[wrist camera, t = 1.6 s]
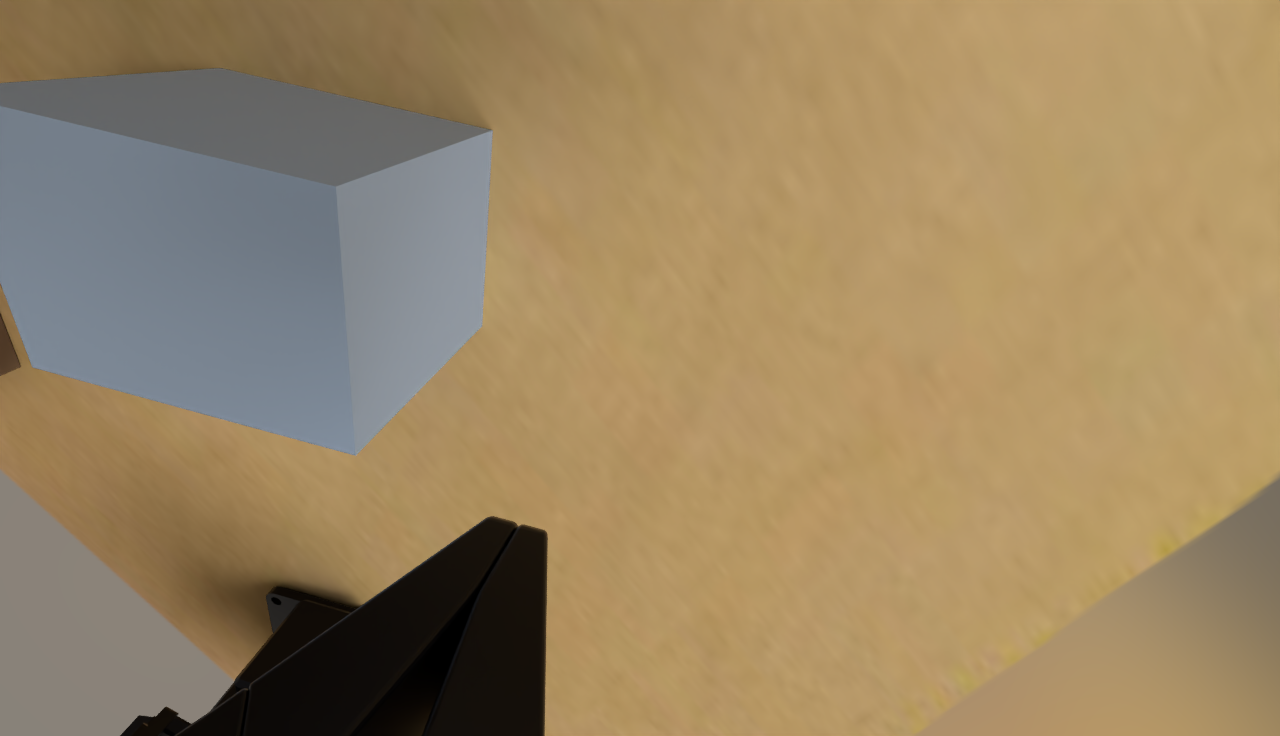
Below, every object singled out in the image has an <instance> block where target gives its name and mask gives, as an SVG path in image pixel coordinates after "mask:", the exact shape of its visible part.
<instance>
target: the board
mask: <svg viewBox="0 0 1280 736" xmlns="http://www.w3.org/2000/svg"><path fill="white" fill-rule="evenodd" d="M19 367H20V364H19V362H18V359H17V356H16V354H15V351H14V349H13V346H12V344H11V341H10V339H9V336H8V333H7V331H6V328H5V326H4V323H3V321H2V318H1V316H0V376H1V375H3V374H6V373H8V372H10V371H12V370H15V369H17V368H19Z"/></svg>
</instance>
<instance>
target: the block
mask: <svg viewBox="0 0 1280 736" xmlns="http://www.w3.org/2000/svg"><path fill="white" fill-rule="evenodd" d="M492 132H493V130H489V129H485V128H481V127H476V126H472V125H467V124H463V123H459V122H454V121H450V120H446V119H441V118H437V117H432V116H428V115H424V114H419V113H415V112H411V111H406V110H402V109H397V108H393V107H389V106H384V105H380V104H376V103H371V102H367V101H363V100H358V99H354V98H349V97H345V96H341V95H336V94H332V93H328V92H323V91H319V90H314V89H310V88H306V87H301V86H297V85H293V84H288V83H284V82H279V81H275V80H271V79H266V78H262V77H258V76H253V75H249V74H245V73H240V72H236V71H231V70H227V69H223V68H213V69H199V70H184V71H169V72H155V73H140V74H126V75H111V76H97V77H82V78H68V79H53V80H38V81H24V82H9V83H0V283H1V286H2V289H3V291H4V294H5V297H6V299H7V302H8V304H9V307H10V310H11V312H12V315H13V318H14V320H15V323H16V325H17V328H18V331H19V333H20V336H21V339H22V341H23V344H24V346H25V349H26V352H27V354H28V357H29V360H30V362H31V365H32V367H33V368H37V369H40V370H44V371H48V372H51V373H55V374H59V375H62V376H66V377H70V378H73V379H77V380H81V381H84V382H88V383H92V384H95V385H99V386H103V387H106V388H110V389H114V390H117V391H121V392H125V393H128V394H132V395H136V396H139V397H143V398H147V399H150V400H154V401H157V402H161V403H165V404H168V405H172V406H176V407H179V408H183V409H187V410H190V411H194V412H198V413H201V414H205V415H209V416H212V417H216V418H220V419H223V420H227V421H231V422H234V423H238V424H242V425H245V426H249V427H253V428H256V429H260V430H264V431H267V432H271V433H275V434H278V435H282V436H286V437H289V438H293V439H297V440H300V441H304V442H308V443H311V444H315V445H319V446H322V447H326V448H330V449H333V450H337V451H341V452H344V453H348V454H352V455H355V456H356V455H357V454H358V453H359V452H360V451H361V450H362V449H363V448H364V447H365V445H366V444H367V443H368V442H369V441H370V440H371V439H372V438H373V437H374V436H375V435H376V434H377V433H378V432H379V431H380V430H381V429H382V428H383V427H384V426H385V425H386V424H387V423H388V422H389V421H390V420H391V419H392V418H393V417H394V416H395V415H396V414H397V413H398V412H399V411H400V410H401V409H402V408H403V407H404V406H405V405H406V403H407V402H408V401H409V400H410V399H411V398H412V397H413V396H414V395H415V394H416V393H417V392H418V391H419V390H420V389H421V388H422V387H423V386H424V385H425V384H426V383H427V382H428V381H429V380H430V379H431V378H432V377H433V376H434V375H435V374H436V373H437V372H438V371H439V370H440V369H441V368H442V367H443V366H444V365H445V364H446V363H447V361H448V360H449V359H450V358H451V357H452V356H453V355H454V354H455V353H456V352H457V351H458V350H459V349H460V348H461V347H462V346H463V345H464V344H465V343H466V342H467V341H468V340H469V339H470V338H471V337H472V336H473V335H474V334H475V333H476V332H477V331H478V330H479V329H480V328H481V327H482V317H483V299H484V280H485V262H486V243H487V225H488V206H489V188H490V169H491V151H492Z"/></svg>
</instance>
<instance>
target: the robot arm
mask: <svg viewBox="0 0 1280 736" xmlns="http://www.w3.org/2000/svg"><path fill="white" fill-rule="evenodd" d="M547 543H548V537H547V532H546V531H545V530H542V529H538V528H535V527H531V526H527V525H520V526H518V525H517V524H516V523H515V522H513V521H509V520H506V519H502V518H498V517H494V516H491V517H488V518H486V519H484V520H483V521H481V522H480V523H479V524H477V525H476V526H474V527H473V528H471V529H470V530H469V531H467V532H466V533H464V534H463V535H461V536H460V537H459V538H457V539H456V540H454V541H453V542H451V543H450V544H449V545H447V546H446V547H444V548H443V549H441V550H440V551H439V552H437V553H436V554H434V555H433V556H432V557H430V558H429V559H427V560H426V561H424V562H423V563H422V564H420V565H419V566H417V567H416V568H414V569H413V570H412V571H410V572H409V573H407V574H406V575H404V576H403V577H402V578H400V579H399V580H397V581H396V582H394V583H393V584H392V585H390V586H389V587H387V588H386V589H385V590H383V591H382V592H380V593H379V594H377V595H376V596H375V597H373V598H372V599H370V600H369V601H367V602H366V603H365V604H363V605H362V606H360V607H359V608H357V609H355V608H351V607H348V606H344V605H341V604H337V603H334V602H331V601H327V600H324V599H320V598H317V597H314V596H310V595H307V594H303V593H300V592H297V591H293V590H290V589H286V588H283V587H278V586H277V587H274V588H273V589H272V590H271V591H270V592H269V593H268V594H267V596H266V600H267V605H268V610H269V615H270V620H271V625H272V630H273V634H272V635H271V636H270V638H269V639H268V640H267V641H266V643H265V644H264V645H263V646H262V647H261V649H260V650H259V651H258V652H257V653H256V655H255V656H254V657H253V658H252V659H251V661H250V662H249V663H248V664H247V666H246V667H245V668H244V669H243V670H242V672H241V673H240V674H239V675H238V676H237V678H236V679H235V681H234V683H233V684H232V685H231V687H230V688H229V689H228V690H227V691H226V693H225V694H224V695H223V696H222V697H221V699H220V700H219V701H218V702H217V704H216V705H215V706H214V707H213V709H212V710H211V711H210V712H209V713H207V714H206V715H204V716H203V717H202V718H200V719H198V720H197V721H196V722H194V723H192V724H190V723H189V722H186V721H185V720H183V719H181V718H180V717H178V716H177V715H178V713H177V712H175V711H173V710H171V709H170V708H168V707H165V708H164V709H163V710H162V711H161V712H160V713H159V714H158V715H157V716H156V717H155V716H154V717H148V716H138V717H137V718H136V719H135V720H134V721H133V722H132V724H131V725H130V726H129V727H128V728H127V729H126V730H125V731H124V732H123V733H122V734H121V735H120V736H545V672H546V608H547Z"/></svg>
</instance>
